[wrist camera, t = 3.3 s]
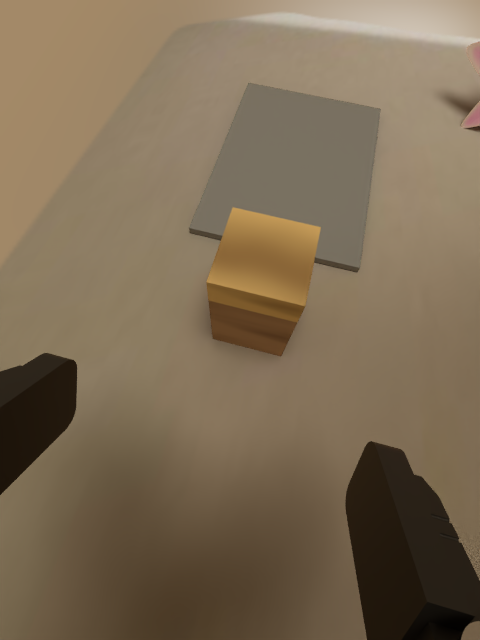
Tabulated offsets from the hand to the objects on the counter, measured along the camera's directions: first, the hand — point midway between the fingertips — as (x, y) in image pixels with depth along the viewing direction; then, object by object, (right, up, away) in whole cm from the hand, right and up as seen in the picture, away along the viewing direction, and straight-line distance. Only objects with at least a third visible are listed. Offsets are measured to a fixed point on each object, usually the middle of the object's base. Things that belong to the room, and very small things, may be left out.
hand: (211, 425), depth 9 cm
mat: (+6, +17, +22) cm, 28 cm away
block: (+2, +3, +16) cm, 16 cm away
